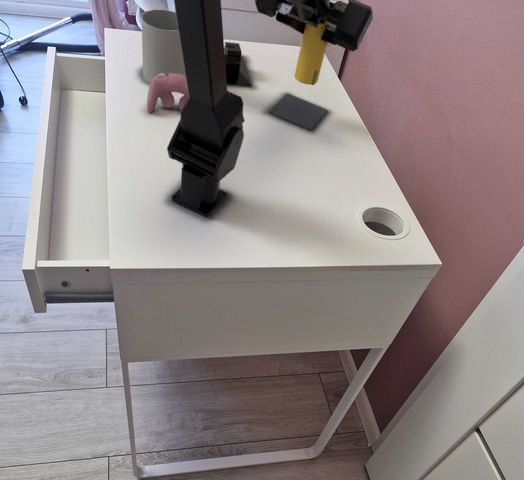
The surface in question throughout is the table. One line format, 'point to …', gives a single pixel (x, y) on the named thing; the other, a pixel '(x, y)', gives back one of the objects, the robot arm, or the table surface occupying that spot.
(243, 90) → the table surface
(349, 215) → the table surface
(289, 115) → the coaster
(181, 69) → the cup
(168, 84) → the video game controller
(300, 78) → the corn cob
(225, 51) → the dark flat-based piece
